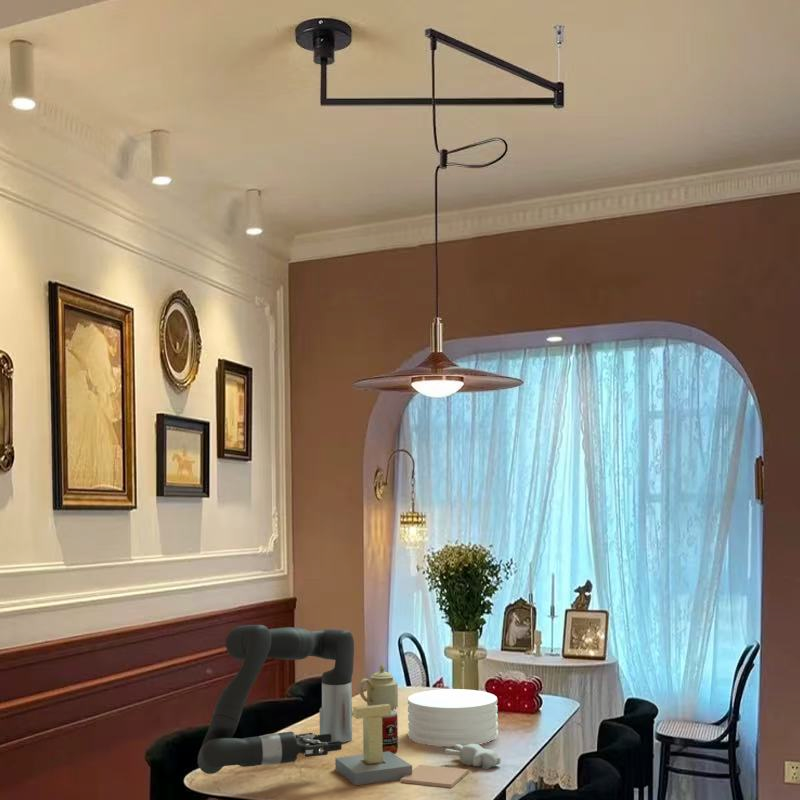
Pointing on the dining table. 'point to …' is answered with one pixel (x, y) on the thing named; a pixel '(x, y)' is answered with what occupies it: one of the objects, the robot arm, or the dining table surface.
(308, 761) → the dining table surface
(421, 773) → the tile
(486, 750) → the bunny figurine
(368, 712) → the t key
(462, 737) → the plate stack
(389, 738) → the canned food
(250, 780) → the dining table surface
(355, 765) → the cover plate
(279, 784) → the dining table surface
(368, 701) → the sugar bowl
